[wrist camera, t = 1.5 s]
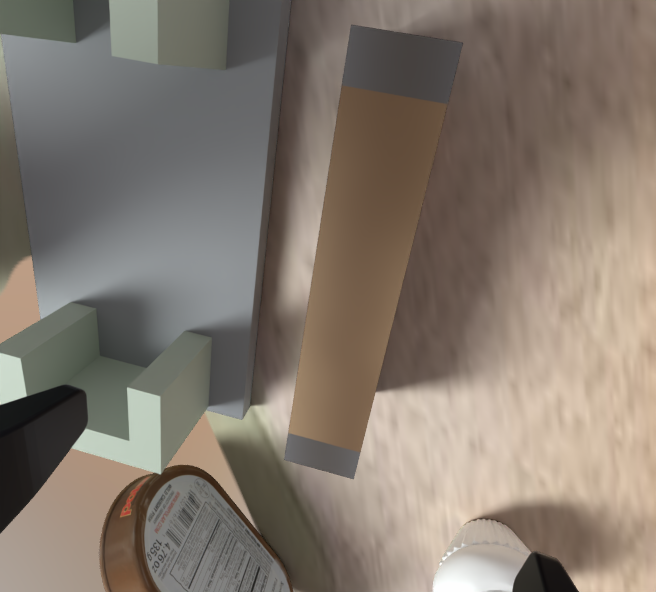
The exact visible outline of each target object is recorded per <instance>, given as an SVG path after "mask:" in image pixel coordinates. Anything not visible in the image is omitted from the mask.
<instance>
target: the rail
mask: <svg viewBox="0 0 656 592" xmlns="http://www.w3.org/2000/svg"><path fill="white" fill-rule="evenodd" d="M462 45H463V43H462V42H456V41H449V40H443V39H437V38H431V37H425V36H418V35H412V34H406V33H400V32H394V31H387V30H381V29H375V28H369V27H363V26H356V25H351V29H350V36H349V42H348V49H347V55H346V62H345V68H344V75H343V81H342V88H341V94H340V101H339V107H338V114H337V120H336V127H335V133H334V140H333V146H332V153H331V159H330V166H329V172H328V179H327V185H326V192H325V198H324V205H323V211H322V218H321V224H320V231H319V237H318V243H317V250H316V256H315V263H314V269H313V276H312V282H311V289H310V295H309V302H308V308H307V315H306V321H305V328H304V334H303V341H302V347H301V354H300V360H299V367H298V373H297V380H296V386H295V393H294V399H293V406H292V412H291V419H290V425H289V432H288V438H287V445H286V451H285V458H284V460H287V461H290V462H294V463H297V464H301V465H304V466H308V467H312V468H315V469H319V470H322V471H326V472H329V473H333V474H337V475H340V476H344V477H347V478H351V479H354V476H355V472H356V468H357V464H358V460H359V456H360V452H361V448H362V444H363V440H364V436H365V432H366V428H367V424H368V420H369V416H370V412H371V408H372V404H373V400H374V396H375V392H376V388H377V384H378V380H379V376H380V372H381V368H382V364H383V360H384V356H385V352H386V348H387V344H388V340H389V336H390V332H391V328H392V324H393V320H394V316H395V312H396V308H397V304H398V300H399V296H400V292H401V288H402V284H403V280H404V276H405V272H406V268H407V264H408V260H409V256H410V252H411V248H412V244H413V240H414V237H415V233H416V229H417V225H418V221H419V217H420V213H421V209H422V205H423V201H424V197H425V193H426V189H427V185H428V181H429V177H430V173H431V169H432V165H433V161H434V157H435V153H436V149H437V145H438V141H439V137H440V133H441V129H442V125H443V121H444V117H445V113H446V109H447V105H448V101H449V97H450V93H451V89H452V85H453V81H454V77H455V73H456V69H457V65H458V61H459V57H460V53H461V49H462Z"/></svg>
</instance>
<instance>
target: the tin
mask: <svg viewBox="0 0 656 592" xmlns="http://www.w3.org/2000/svg"><path fill="white" fill-rule="evenodd" d="M99 560H100V570H101V577H102V581H103V585H104V589H105V591H106V592H293V588H292V585H291V581H290V579H289V576H288V574H287V571H286V569H285V567H284V565H283V564H282V562H281V560H280V559H279V558H278V556H277V555H276V554H275V552H274V551H273V550H272V549H271V547H270V546H269V545H268V544H267V543H266V541H265V540H264V539H263V538H262V536H261V535H260V534H259V533H258V531H257V530H256V529H255V528H254V526H253V525H252V524H251V523H250V522H249V520H248V519H247V518H246V517H245V515H244V514H243V513H242V512H241V510H240V509H239V508H238V507H237V505H236V504H235V503H234V502H233V501H232V499H231V498H230V497H229V496H228V494H227V493H226V492H225V491H224V489H223V488H222V487H221V486H220V485H219V483H218V482H217V481H216V480H215V479H214V478H213V477H212V476H211V475H209V474H208V473H207V472H205V471H204V470H202V469H200V468H198V467H194V466H190V465H177V466H172V467H168V468H165V469H164V471H163V472H162V473H161V474H158V473H153V474H149V475H146V476H142V477H140V478H138V479H136V480H134V481H133V482H131V483H130V484H129V485H128V486H126V487H125V488H124V489H123V490H122V491H121V492H120V494H119V495H118V496H117V498H116V499H115V500H114V502H113V504H112V505H111V507H110V509H109V512H108V513H107V516H106V519H105V522H104V525H103V528H102V534H101V539H100V547H99Z"/></svg>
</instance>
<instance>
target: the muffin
mask: <svg viewBox="0 0 656 592" xmlns="http://www.w3.org/2000/svg"><path fill="white" fill-rule="evenodd" d="M530 554H531V551H530V550H529V549H528V548H527V547H526V546H525V545H524V544H523V542H522V541H521V540H520V539H519V538H518V537H517V536H516V534H515V533H514V532H513V531H512V530H511V529H510V528H508V527H507V526H506V525H505V524H502V523H501V522H496V520H493V521H492V520H490V519H488V520H486V519H482V520H479V519H477V520H476V521H471V522H470V523H466V525H463V526H462V528H460V530H459V531H458V533H457V534H456V536H455V538H454V539H453V541H452V542H451V544H450V546H449V547H448V549H447V550H446V552H445V553H444V555H443V557H442V559H441V561H440V563H439V565H440V567H439V568H438V570H437V572H436V575H435V577H434V581H433V592H512V589H513V584H514V580H515V578H516V576H517V574H518V572H519V571H520V569H521V567H522V566H523V564H524V563H525V561H526V559H527V558H528V556H529V555H530Z"/></svg>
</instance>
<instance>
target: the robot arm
mask: <svg viewBox="0 0 656 592" xmlns="http://www.w3.org/2000/svg"><path fill="white" fill-rule="evenodd" d="M87 424H88V407H87V395H86V392H85V391H84V390H83V389H80V388H78V387H75V386H72V385H68V384H65V385H60V386H57V387H54V388H51V389H48V390H45V391H42V392H39V393H35V394H32V395H29V396H26V397H23V398H20V399H17V400H14V401H11V402H8V403H4V404H1V405H0V533H1V532H2V531H3V530H4V529H5V528H6V527H7V526H8V525H9V523H10V522H11V521H12V520H13V519H14V518H15V517H16V516H17V515H18V514H19V513H20V511H21V510H22V509H23V508H24V507H25V506H26V505H27V504H28V503H29V502H30V500H31V499H32V498H33V497H34V496H35V494H36V493H37V492H38V491H39V490H40V488H41V487H42V486H43V485H44V483H45V482H46V481H47V479H48V478H49V477H50V475H51V474H52V472H53V471H54V470H55V469H56V468H57V466H58V465H59V463H60V462H61V461H62V460H63V458H64V457H65V456H66V454H67V453H68V452H69V450H70V449H71V448H72V446H73V445H74V444H75V443H76V441H77V440H78V439H79V437H80V436H81V435H82V433H83V432H84V430H85V428H86V426H87ZM512 592H579V591H578V590H577V588H576V586H575V585H574V583H573V582H572V580H571V578H570V577H569V575H568V574H567V572H566V570H565V569H564V567H563V566H562V564H561V563H560V562H559V561H558V560H557V559H556V558H554V557H551V556H549V555H546V554H543V553H540V552H537V551H534V552H532V553H531V554H530V555H529V556H528V558H527V559H526V561H525V563H524V564H523V566H522V567H521V569H520V571H519V572H518V574H517V576H516V578H515V580H514V584H513V589H512Z"/></svg>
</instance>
